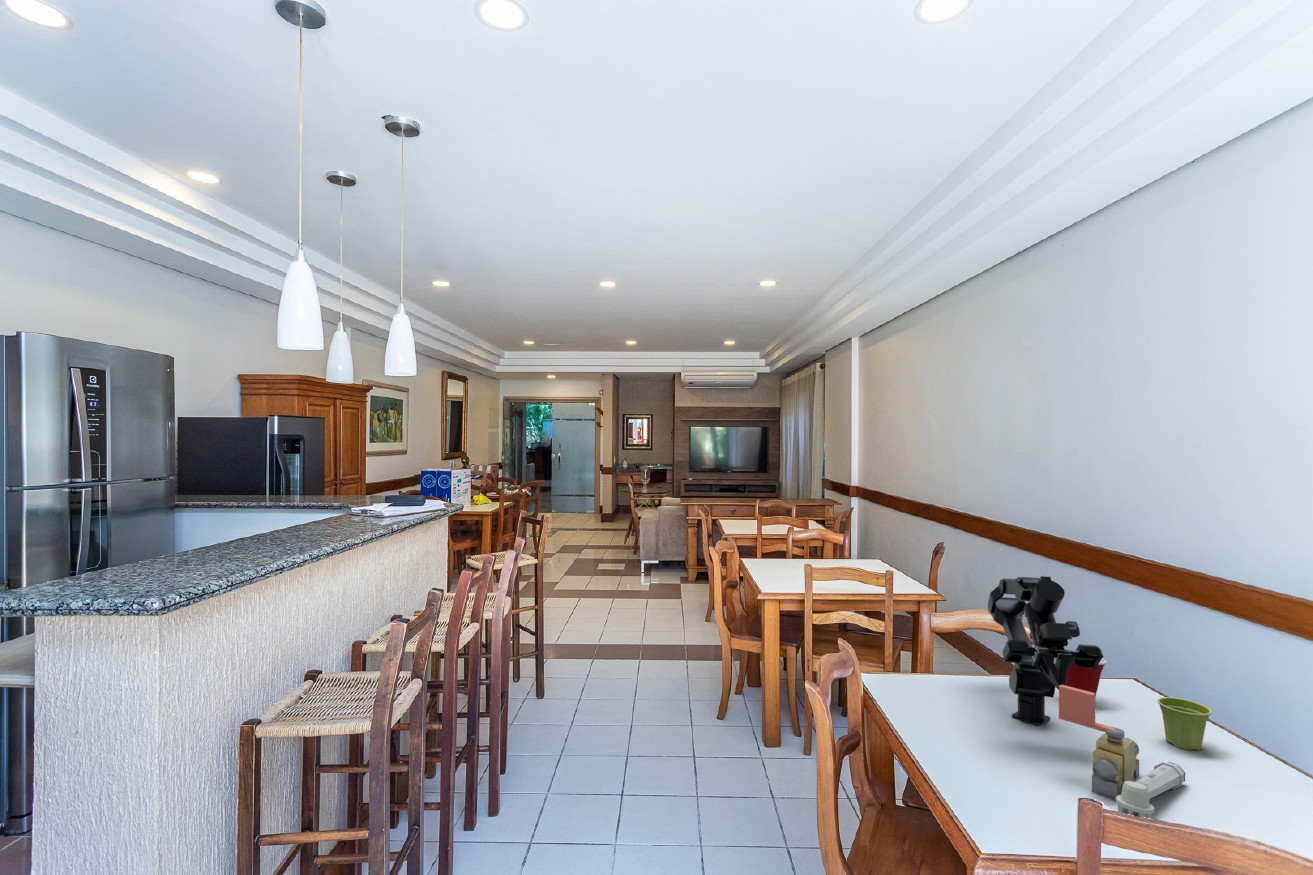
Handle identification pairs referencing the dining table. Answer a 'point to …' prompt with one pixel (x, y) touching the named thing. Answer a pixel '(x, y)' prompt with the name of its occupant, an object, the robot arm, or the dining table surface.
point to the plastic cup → (1084, 677)
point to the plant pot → (1184, 722)
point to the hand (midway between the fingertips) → (1062, 690)
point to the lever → (1082, 710)
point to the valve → (1114, 765)
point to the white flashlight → (1149, 789)
